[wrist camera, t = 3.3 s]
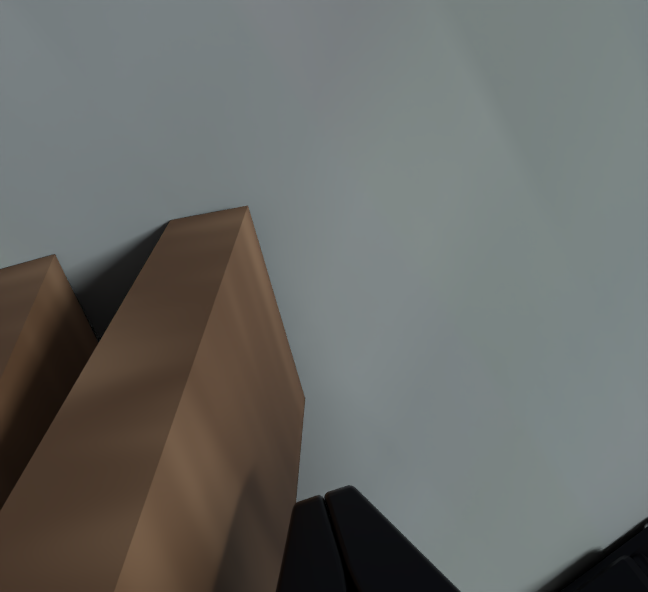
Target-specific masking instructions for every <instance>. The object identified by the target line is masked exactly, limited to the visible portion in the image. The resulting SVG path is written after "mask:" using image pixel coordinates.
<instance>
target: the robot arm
mask: <svg viewBox="0 0 648 592" xmlns="http://www.w3.org/2000/svg"><path fill="white" fill-rule="evenodd" d="M324 499H325V500H324ZM327 509H328V510H327ZM276 592H461V591H460V590H459V589H458V588H457V587H455V586H454V585H453V584H452V583H451V582H450V581H449V580H448V579H447V578H446V577H445V576H444V575H443V574H442V573H441V572H440V571H439V570H438V569H437V568H436V567H435V566H434V565H433V564H432V563H431V562H430V561H429V560H428V559H427V558H426V557H425V556H424V555H423V554H422V553H421V552H420V551H419V550H418V549H417V548H416V547H415V546H414V545H413V544H412V543H411V542H410V541H409V540H408V539H407V538H406V537H405V536H404V535H403V534H402V533H401V532H400V531H399V530H398V529H397V528H396V527H395V526H394V525H393V524H392V523H391V522H390V521H389V520H388V519H387V518H386V517H385V516H384V515H383V514H382V513H381V512H380V511H379V510H378V509H377V508H376V507H374V506H373V505H372V504H371V503H370V502H369V501H368V500H367V499H366V498H365V497H364V496H363V495H362V494H361V493H360V492H359V491H358V490H357V489H356V488H355V487H353V486H351V485H348V486H345V487H341V488H338V489H335V490H332V491H329V492H327V493H326V494H325V497H324V498H323V497H322V496H320V495H317V496H314V497H311V498H308V499H305V500H302V501H299V502H297V503H295V504H294V506H293V509H292V513H291V518H290V523H289V528H288V533H287V538H286V543H285V548H284V553H283V558H282V563H281V568H280V573H279V578H278V583H277V588H276ZM560 592H648V527H646V528H645V529H643V530H642V531H641V532H639V533H638V534H637V535H635V536H634V537H633V538H631V539H630V540H629V541H627V542H626V543H625V544H623V545H622V546H621V547H619V548H618V549H617V550H615V551H614V552H613V553H611V554H610V555H609V556H607V557H606V558H605V559H603V560H602V561H601V562H599V563H598V564H597V565H595V566H594V567H593V568H591V569H590V570H588V571H587V572H586V573H584V574H583V575H582V576H580V577H579V578H578V579H576V580H575V581H574V582H572V583H571V584H570V585H568V586H567V587H566V588H564V589H563V590H562V591H560Z"/></svg>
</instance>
